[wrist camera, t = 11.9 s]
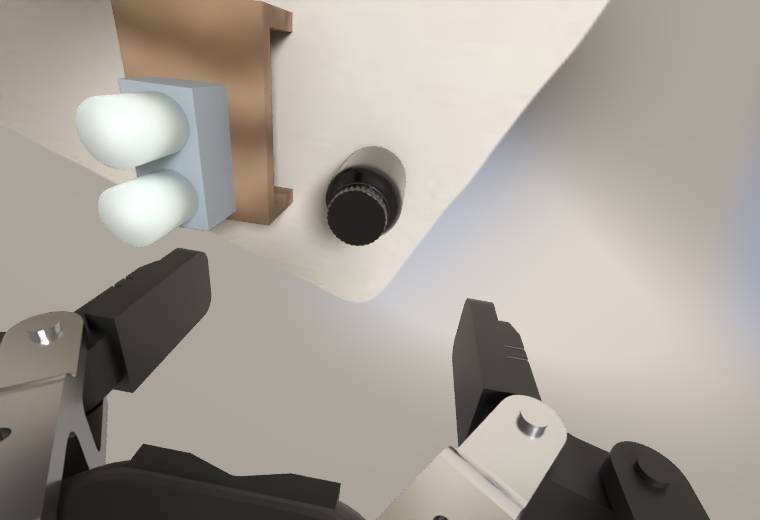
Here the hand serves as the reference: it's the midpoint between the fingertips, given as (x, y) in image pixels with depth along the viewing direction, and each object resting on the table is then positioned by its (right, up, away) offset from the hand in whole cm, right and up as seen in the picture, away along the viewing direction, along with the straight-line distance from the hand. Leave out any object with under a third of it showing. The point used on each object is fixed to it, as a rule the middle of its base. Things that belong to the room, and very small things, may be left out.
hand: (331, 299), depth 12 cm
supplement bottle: (+1, +10, +29) cm, 30 cm away
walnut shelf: (-13, +17, +27) cm, 34 cm away
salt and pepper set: (-14, +11, +22) cm, 29 cm away
